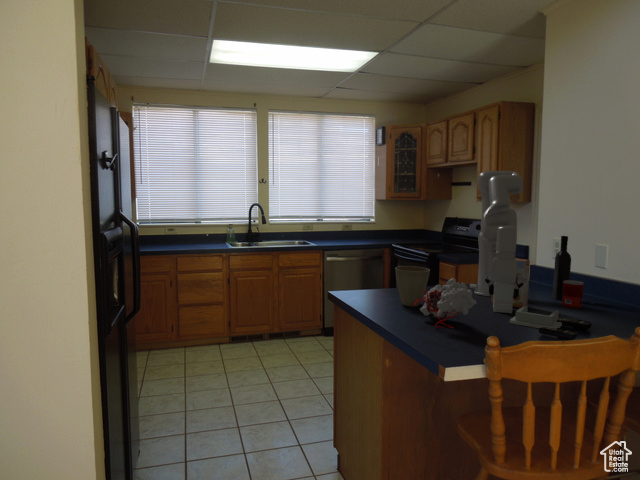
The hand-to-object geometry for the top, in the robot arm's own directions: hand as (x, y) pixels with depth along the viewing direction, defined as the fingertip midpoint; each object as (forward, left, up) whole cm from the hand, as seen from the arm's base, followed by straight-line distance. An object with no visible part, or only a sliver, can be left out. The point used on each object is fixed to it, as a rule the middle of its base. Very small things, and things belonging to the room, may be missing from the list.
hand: (503, 296), depth 192 cm
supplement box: (0, 0, -6) cm, 6 cm away
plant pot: (-34, -16, -6) cm, 38 cm away
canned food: (+21, +30, -6) cm, 37 cm away
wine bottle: (+14, +43, -6) cm, 46 cm away
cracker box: (-1, +13, -6) cm, 15 cm away
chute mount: (+16, -11, -6) cm, 20 cm away
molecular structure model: (-10, -37, -6) cm, 38 cm away
